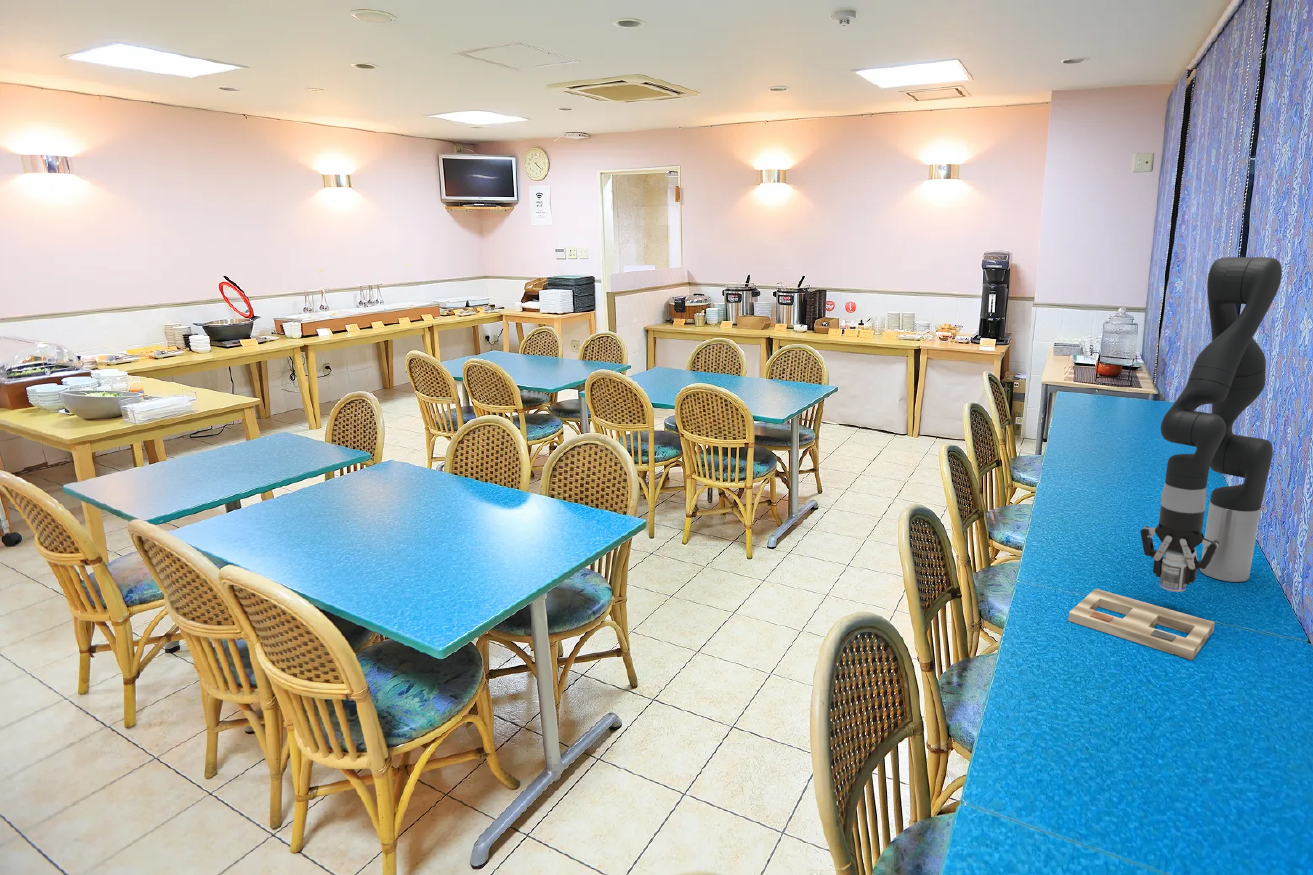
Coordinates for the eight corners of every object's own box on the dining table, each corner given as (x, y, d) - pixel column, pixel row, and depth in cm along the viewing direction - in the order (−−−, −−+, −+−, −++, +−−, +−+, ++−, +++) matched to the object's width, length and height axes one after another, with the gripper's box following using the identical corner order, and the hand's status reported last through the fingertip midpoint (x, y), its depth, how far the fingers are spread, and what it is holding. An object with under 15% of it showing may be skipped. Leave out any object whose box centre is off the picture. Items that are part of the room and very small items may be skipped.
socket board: (1094, 596, 166) (1095, 587, 166) (1213, 630, 150) (1215, 620, 150) (1068, 620, 157) (1069, 610, 156) (1192, 660, 141) (1193, 649, 140)
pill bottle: (1175, 581, 161) (1180, 545, 159) (1191, 591, 157) (1196, 555, 154) (1153, 582, 161) (1158, 547, 159) (1169, 593, 157) (1173, 556, 154)
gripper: (1230, 507, 151) (1218, 583, 156) (1149, 492, 161) (1141, 563, 166) (1220, 518, 146) (1208, 596, 151) (1137, 502, 157) (1129, 575, 161)
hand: (1173, 578), depth 158 cm, fingers closed on pill bottle, 4 cm apart
